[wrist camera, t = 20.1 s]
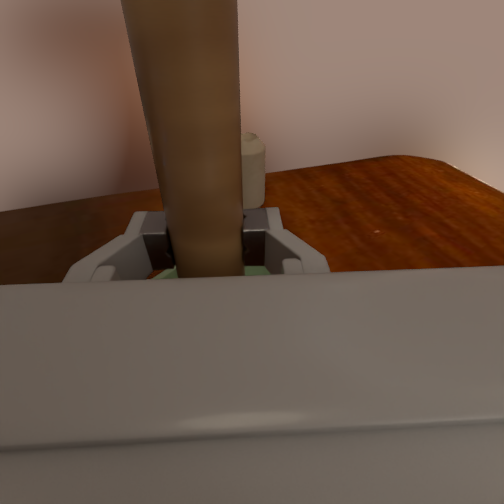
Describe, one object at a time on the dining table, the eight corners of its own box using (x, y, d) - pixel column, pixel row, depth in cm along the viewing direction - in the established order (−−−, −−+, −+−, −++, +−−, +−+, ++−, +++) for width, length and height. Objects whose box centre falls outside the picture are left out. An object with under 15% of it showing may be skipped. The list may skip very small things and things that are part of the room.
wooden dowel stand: (151, 380, 18) (-22, -75, 7) (227, 322, 21) (197, -44, 10) (218, 462, 14) (94, -176, 3) (296, 378, 18) (363, -78, 7)
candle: (244, 214, 44) (242, 146, 37) (221, 200, 47) (215, 135, 41) (271, 201, 47) (274, 135, 40) (248, 188, 50) (247, 125, 43)
